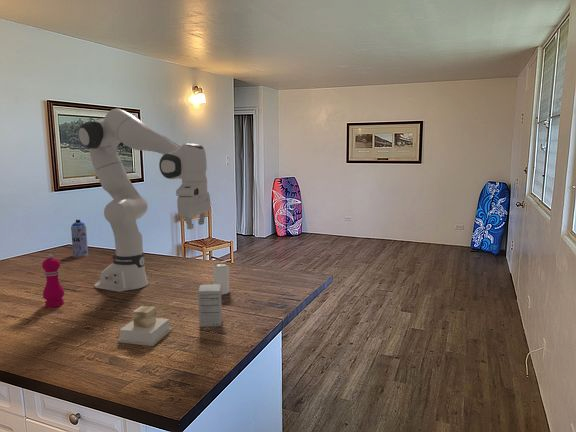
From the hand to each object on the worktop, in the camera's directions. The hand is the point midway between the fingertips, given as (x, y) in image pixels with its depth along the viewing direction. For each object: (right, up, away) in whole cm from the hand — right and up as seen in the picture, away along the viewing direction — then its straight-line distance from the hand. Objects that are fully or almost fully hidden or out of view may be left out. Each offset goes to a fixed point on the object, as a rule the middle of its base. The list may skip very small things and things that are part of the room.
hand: (196, 226), depth 160 cm
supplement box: (+7, -33, -9) cm, 35 cm away
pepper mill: (-56, -30, +8) cm, 64 cm away
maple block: (-12, -31, -20) cm, 39 cm away
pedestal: (-12, -35, -20) cm, 42 cm away
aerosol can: (-82, -18, +84) cm, 119 cm away
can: (+6, -28, +22) cm, 36 cm away
